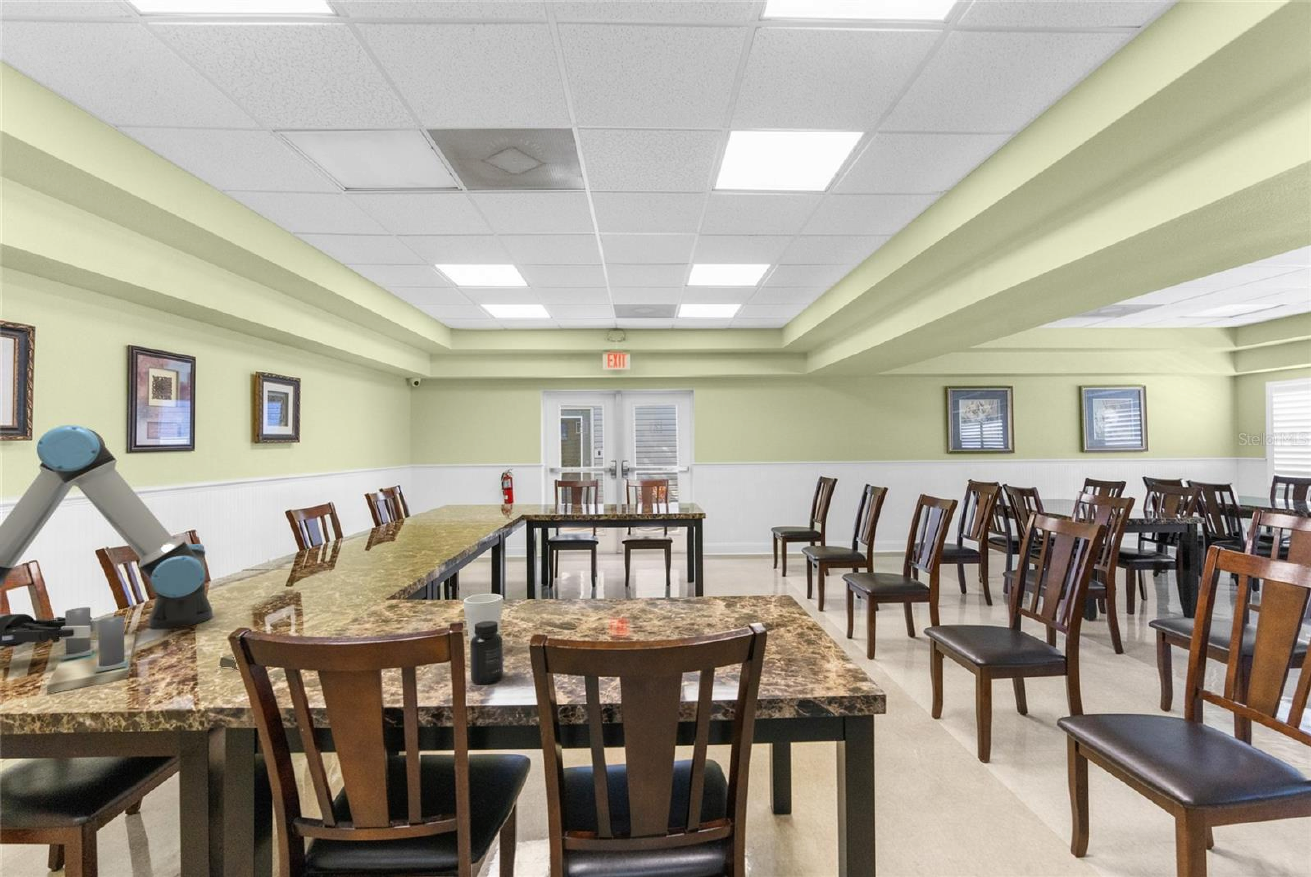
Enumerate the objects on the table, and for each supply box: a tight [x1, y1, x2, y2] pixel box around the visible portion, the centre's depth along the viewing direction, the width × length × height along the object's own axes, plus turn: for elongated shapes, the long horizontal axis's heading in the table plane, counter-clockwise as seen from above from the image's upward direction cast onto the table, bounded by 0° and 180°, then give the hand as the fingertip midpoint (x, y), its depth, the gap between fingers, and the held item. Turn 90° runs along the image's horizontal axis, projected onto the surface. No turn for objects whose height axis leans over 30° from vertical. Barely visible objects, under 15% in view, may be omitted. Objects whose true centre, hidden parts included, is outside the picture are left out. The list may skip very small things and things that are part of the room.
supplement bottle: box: [469, 621, 504, 686], centre depth 131 cm, size 7×7×12 cm
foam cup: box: [462, 593, 504, 644], centre depth 149 cm, size 10×9×13 cm
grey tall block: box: [96, 615, 127, 672], centre depth 137 cm, size 5×5×11 cm
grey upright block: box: [62, 606, 93, 659], centre depth 146 cm, size 5×5×11 cm
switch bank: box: [46, 633, 137, 695], centre depth 146 cm, size 13×36×2 cm, turn 39°
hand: (98, 628), depth 146 cm, fingers closed on grey upright block, 4 cm apart
